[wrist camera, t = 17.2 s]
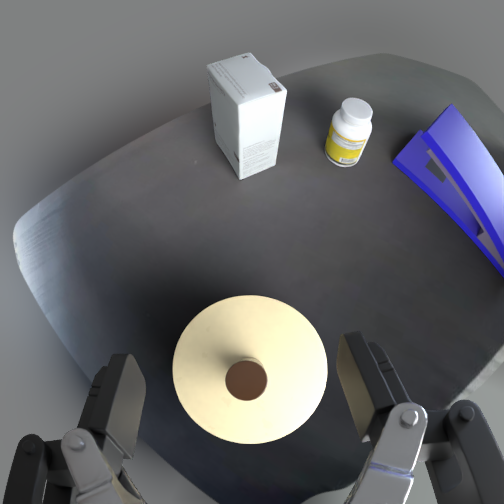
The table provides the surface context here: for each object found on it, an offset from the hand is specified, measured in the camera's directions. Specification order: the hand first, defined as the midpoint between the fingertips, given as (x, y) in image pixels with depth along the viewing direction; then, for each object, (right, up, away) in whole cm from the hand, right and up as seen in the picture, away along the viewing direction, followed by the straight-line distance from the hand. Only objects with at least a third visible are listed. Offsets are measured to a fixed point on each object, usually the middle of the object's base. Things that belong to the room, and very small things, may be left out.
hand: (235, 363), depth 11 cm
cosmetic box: (0, +18, +31) cm, 36 cm away
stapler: (+35, +12, +28) cm, 47 cm away
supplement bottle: (+14, +19, +31) cm, 39 cm away
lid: (0, -6, +14) cm, 15 cm away
